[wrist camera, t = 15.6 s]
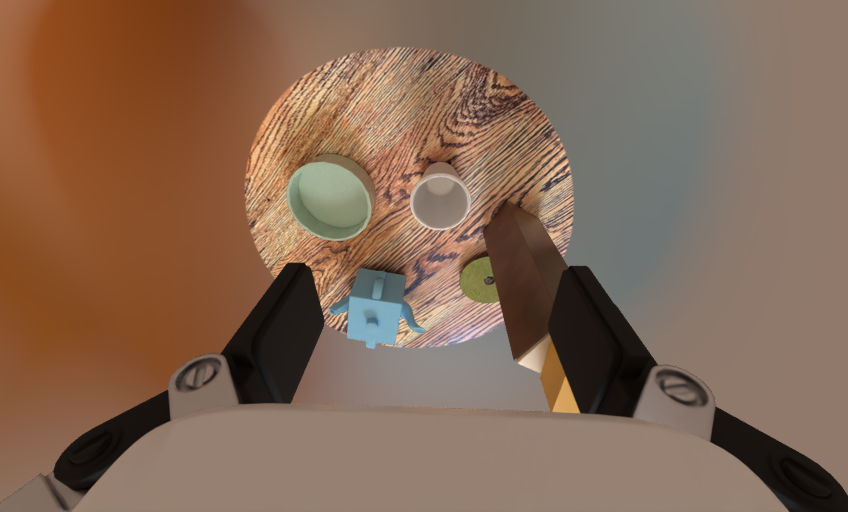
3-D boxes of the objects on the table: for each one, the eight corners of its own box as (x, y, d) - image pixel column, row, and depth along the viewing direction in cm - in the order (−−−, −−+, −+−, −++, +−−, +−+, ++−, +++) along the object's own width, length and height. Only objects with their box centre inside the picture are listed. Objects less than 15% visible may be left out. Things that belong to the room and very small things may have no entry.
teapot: (342, 250, 59) (323, 288, 50) (434, 266, 60) (433, 305, 51) (340, 310, 68) (323, 352, 58) (420, 323, 69) (417, 366, 59)
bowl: (311, 137, 48) (300, 144, 44) (388, 179, 51) (384, 189, 47) (288, 206, 54) (276, 218, 51) (358, 240, 58) (352, 253, 54)
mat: (448, 282, 62) (448, 289, 60) (480, 241, 57) (481, 246, 55) (494, 304, 65) (495, 311, 63) (529, 267, 59) (531, 273, 58)
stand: (506, 199, 52) (562, 321, 28) (539, 218, 54) (618, 349, 30) (482, 231, 55) (514, 363, 32) (513, 248, 57) (566, 386, 33)
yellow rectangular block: (552, 334, 29) (567, 370, 26) (591, 335, 29) (611, 372, 26) (539, 377, 33) (551, 414, 29) (574, 378, 32) (590, 415, 29)
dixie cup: (445, 142, 47) (446, 160, 39) (475, 183, 51) (482, 209, 42) (404, 174, 50) (397, 198, 42) (435, 212, 54) (434, 240, 45)
